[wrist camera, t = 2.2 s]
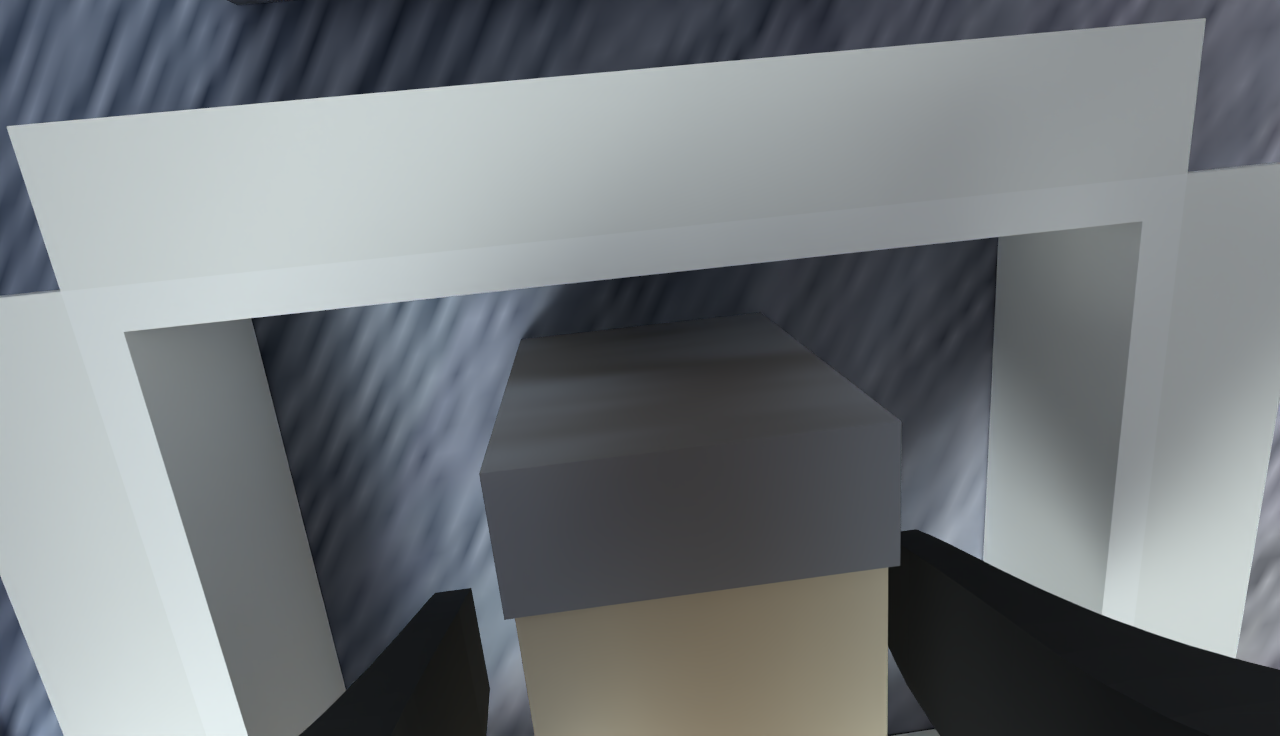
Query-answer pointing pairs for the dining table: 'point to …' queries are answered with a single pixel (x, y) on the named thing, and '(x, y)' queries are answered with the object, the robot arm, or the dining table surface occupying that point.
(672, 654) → the birch block
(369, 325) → the dining table surface
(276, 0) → the rubber mat
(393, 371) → the dining table surface
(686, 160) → the white flat frame
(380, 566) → the dining table surface
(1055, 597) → the robot arm
